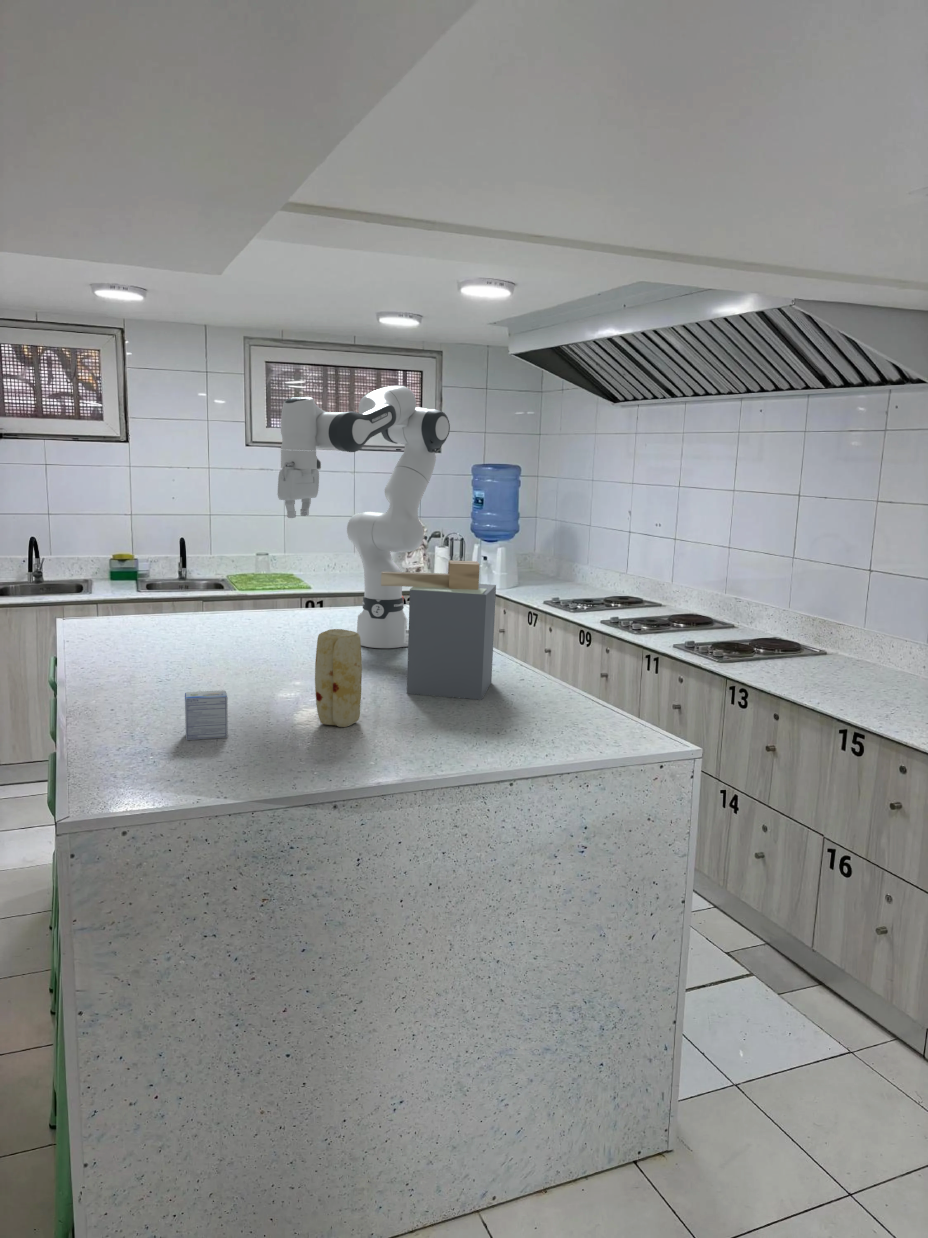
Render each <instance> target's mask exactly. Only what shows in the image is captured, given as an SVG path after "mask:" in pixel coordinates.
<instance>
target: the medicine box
mask: <svg viewBox="0 0 928 1238" xmlns="http://www.w3.org/2000/svg"><path fill="white" fill-rule="evenodd" d="M228 709H229V708H228V693H227V691H226V690H224V689H223V690H222V689H221V690H203V691H186V692H185V693H184V719H185V720H184V721H185V740H186V741H194V740H196V741H197V740H211V739H225V738H227V739H228V738H229V723H228V717H229V715H228V714H229V713H228Z"/></svg>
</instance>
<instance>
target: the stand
mask: <svg viewBox="0 0 928 1238" xmlns="http://www.w3.org/2000/svg"><path fill="white" fill-rule="evenodd" d="M496 592H497V584H491V583H490V584H487V583H479V589H478V590H477V589H449V588H440V587H410V588H409V602H408V604H409V608H408V610H409V611H408V629H409V634H408V646H407V667H406V668H407V671H406V673H407V674H406V675H407V676H406V694H407V693H410V694H409V695H419V694H420V695H421V696H430V695H435V696H434V697H442V696H444V697H443V698H454V697H460V698H459V699H465V698H470V699H469V700H477V699H478V700H479V701H481V700H483V698H484V696H485V695H486V693H487V691H488V689H489V688H488V687H490V686H491V685H492V677H493V659H494V657H493V656H494V639H495V638H494V637H495V636H494V635H495V620H496V619H495V615H496ZM484 694H485V695H484ZM420 695H419V696H420Z"/></svg>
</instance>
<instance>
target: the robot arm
mask: <svg viewBox="0 0 928 1238" xmlns="http://www.w3.org/2000/svg"><path fill="white" fill-rule="evenodd" d="M280 416H281V418H280V435H281V438H282V442H281V446H280V468H281V469H280V470H279V472H278V476H277V477H278V478H277V498H278V500H280V501H284V505H285V509H286V512H287V513H286V515H287V519H296V517H297V510H296V508H295V505H296V501H298V500H301V501H300V502H301V507H300V516H302V517H307V516H309V514H310V506H311V503H312V499H314V498H317V497H318V495H319V489H320V488H319V487H320V472H319V471H320V470H321V468H322V462H321V461H320V459H319V458H318V455H317V450H318V451H319V450H322V451H340V452H341V451H342V452H345V453H346V452H347V453H356V452H358V451H360V450H361V449H362V448H363V447H364V446H365V445H366V443H367V442H368V441H369V440H370V439H372V437H375V436H376V435H379V434H381V435H382V438H384V440H386V441H387V442H389V443H393V444H395V445H396V444H400V445H404V450H403V453H402V455H401V456H400V457H399V459H398V460H397V462H396V463H395V464H396V465H395V467H394V469H393V470H392V473H391V475H390V476H389V479H388V481H387V482H386V485H385V487H384V496H385V499H386V501H387V502H388V503H389V507H388V508H387V509H388V510H386V511H385V512H377V511H364V512H358V513H355V514H353V515H352V516H351V517H350V519H349V520H348V522H347V526H346V534H347V537H348V540H349V541H350V542H351V543H352V545H354V547H355V548H356V550H357V552H358V554H359V557H360V559H361V563H362V566H363V567H362V568H363V573H364V577H363V578H364V595H363V597H362V609H363V610H362V611H361V612H359V614H358V615H357V622H356V633H358V634H359V636H360V641H361V647H367V648H375V649H396V648H402V647H403V648H405V647H406V648H408V634H409V628H408V625H409V619H408V618H407V615H406V613H405V611H404V607H405V606H404V605H405V603H404V600H405V599H404V596H403V586H381V572H403V571H402V570H401V568H400V567H399V566H398V564H396V563H395V561H394V560H393V557H392V555H391V552H392V553H393V552H394V553H399V554H400V553H408V552H414V551H416V550H418V549H419V547H420V546H421V545H422V543H423V540H424V537H425V533H424V527H423V524H422V523H421V521H420V519H419V512H418V511H419V506H420V503H421V502H422V498H423V496H424V494H425V492H426V489H427V487H428V485H429V483H430V480H431V477H432V475H433V472H434V469H435V466H436V461H437V456H436V452H438V451H439V450H440V449H441V447H443V445H444V444H445V442H446V441H447V439H448V437H449V436H450V435H449V434H450V431H451V430H450V428H451V426H450V425H451V424H450V421H449V418H448V416H447V414H446V413H445V412H443V411H442V410H439V409H435V408H426V407H419V406H418V407H417V399H416V396H415V394H414V391H412V390H411V389H410V388H409V387H407V386H405V385H391V386H390V385H389V386H385V387H380V388H378V389H376V390H373V391H370V392H368V393H367V394H365V395H364V396H363V397H361V399H360V401H359V403H358V412H357V411H344V412H338V411H337V412H336V411H335V412H334V411H333V412H331V411H329V412H328V411H326V410H323V409H322V408H320V407H319V406H318V405H317V403H315V399H314V398H313V397H310V396H299V397H298V396H296V397H294V396H293V397H290V398H287V399H285V400H284V402H283V404H282V409H281V415H280Z"/></svg>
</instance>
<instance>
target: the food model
mask: <svg viewBox="0 0 928 1238" xmlns="http://www.w3.org/2000/svg"><path fill="white" fill-rule="evenodd" d="M316 642H317V643H316V650H315V652H316V653H315V666H314V668H315V669H314V687H315V690H314V691H315V692H314V693H315V702H316V712H317V715H318V720H319V722H320V723H321V724H322V725H328V726H337V727H339V728H346V727H349V726H352V725H353V724H355V723H357V722H358V721H359V720H360V718H361V701H362V679H363V678H362V675H363V674H362V673H363V667H362V666H363V661H362V659H363V657H362V656H363V655H362V645H361V641H360V636H359V634H358V633H357V631H354V630H349V629H348V630H347V629H341V628H334V629H332V628H331V629H328V630H325V631H323V632H320V633H319V634H318V635H317V640H316Z"/></svg>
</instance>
